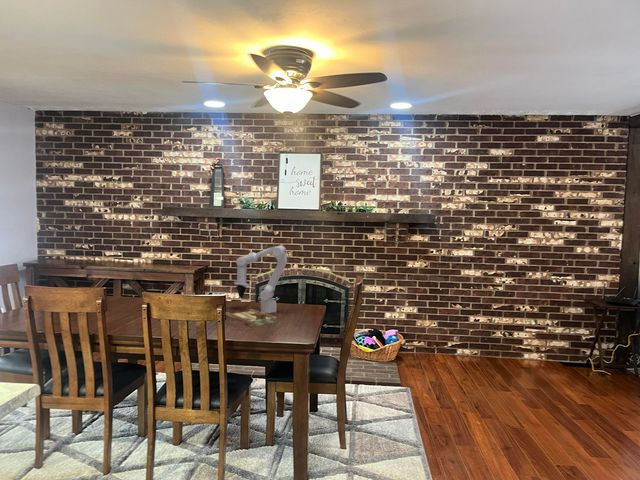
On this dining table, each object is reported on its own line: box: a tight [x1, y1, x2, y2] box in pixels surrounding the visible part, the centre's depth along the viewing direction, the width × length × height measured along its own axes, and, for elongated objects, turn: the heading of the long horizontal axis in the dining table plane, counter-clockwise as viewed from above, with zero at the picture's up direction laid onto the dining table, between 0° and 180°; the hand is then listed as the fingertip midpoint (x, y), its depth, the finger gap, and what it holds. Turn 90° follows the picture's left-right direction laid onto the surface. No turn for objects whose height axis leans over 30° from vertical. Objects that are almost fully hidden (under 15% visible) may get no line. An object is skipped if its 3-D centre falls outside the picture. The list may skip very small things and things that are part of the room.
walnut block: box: [255, 313, 267, 320], centre depth 253 cm, size 4×4×4 cm
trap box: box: [225, 308, 278, 328], centre depth 261 cm, size 18×27×3 cm, turn 42°
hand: (241, 297), depth 279 cm, fingers closed
